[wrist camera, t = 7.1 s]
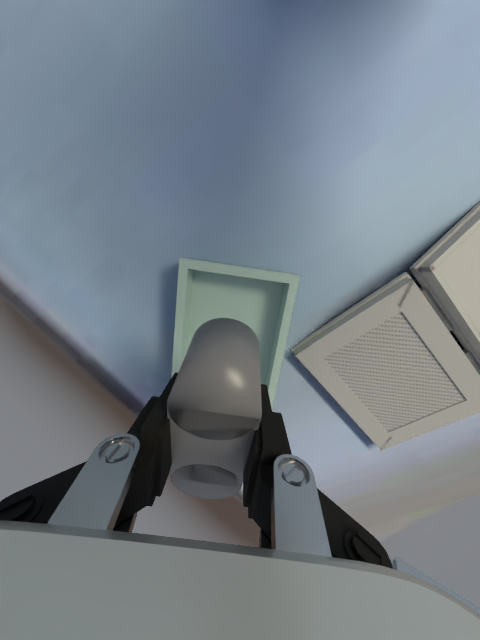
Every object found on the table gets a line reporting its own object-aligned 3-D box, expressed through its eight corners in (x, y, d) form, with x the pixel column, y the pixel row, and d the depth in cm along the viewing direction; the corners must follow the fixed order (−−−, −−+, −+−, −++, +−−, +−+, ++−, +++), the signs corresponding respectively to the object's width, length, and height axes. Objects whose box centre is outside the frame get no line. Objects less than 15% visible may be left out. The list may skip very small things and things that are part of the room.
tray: (187, 258, 19) (179, 257, 17) (293, 273, 20) (300, 275, 17) (176, 399, 23) (168, 416, 21) (265, 411, 23) (267, 429, 21)
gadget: (510, 171, 18) (576, 150, 14) (583, 307, 21) (652, 317, 17) (289, 347, 22) (297, 363, 19) (373, 440, 25) (394, 469, 21)
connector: (193, 312, 10) (164, 371, 7) (265, 323, 10) (270, 385, 7) (189, 445, 15) (172, 511, 12) (236, 451, 15) (231, 519, 12)
